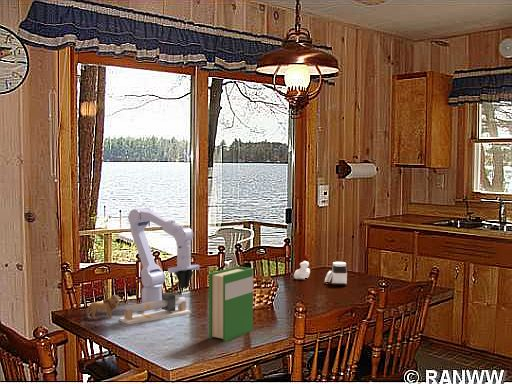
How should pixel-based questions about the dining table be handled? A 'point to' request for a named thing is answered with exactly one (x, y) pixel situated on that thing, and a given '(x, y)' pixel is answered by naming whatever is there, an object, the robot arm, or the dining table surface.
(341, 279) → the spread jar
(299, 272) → the duck figurine
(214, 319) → the hardback book
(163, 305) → the pipe stand
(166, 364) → the dining table surface
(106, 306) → the lion figurine
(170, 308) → the collar
